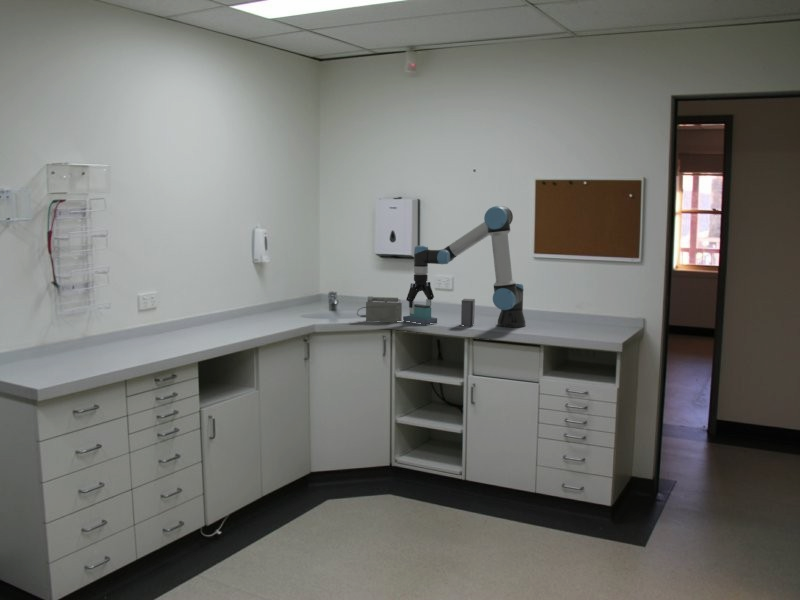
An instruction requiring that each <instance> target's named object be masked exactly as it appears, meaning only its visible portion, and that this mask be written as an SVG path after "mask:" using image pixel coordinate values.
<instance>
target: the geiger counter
mask: <svg viewBox="0 0 800 600" xmlns="http://www.w3.org/2000/svg"><path fill="white" fill-rule="evenodd" d="M361 309H365V314H362V315H360V314H358V313H359V311H360V310H361ZM402 309H403V303H402V302H401V301H400V299H399V297H388V296H387V297H385V296H383V297H382V296H379V297H378V296H369V295H368V296H367V301H365V306H362V307H361V308H359V309H357V311H356V315H357V316H358V317H361V318H365V322H366V321H380V322H379V323H398V322H397V321H402V322H403V317H402V311H403V310H402Z"/></svg>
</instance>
